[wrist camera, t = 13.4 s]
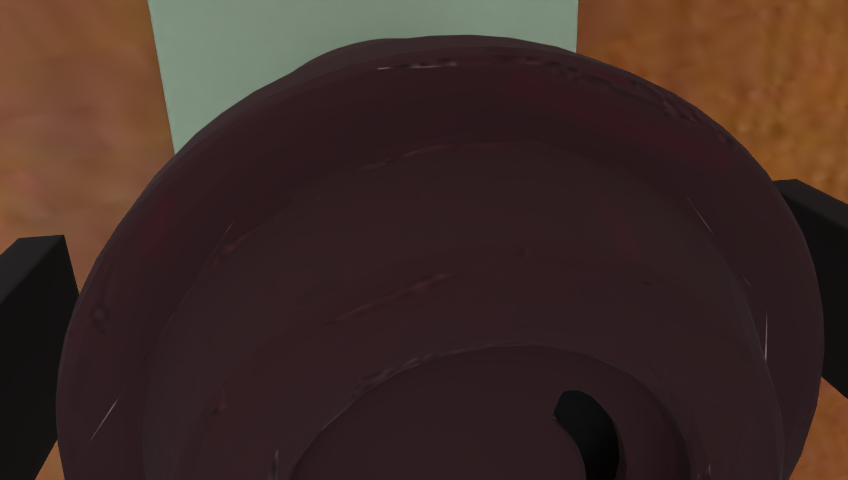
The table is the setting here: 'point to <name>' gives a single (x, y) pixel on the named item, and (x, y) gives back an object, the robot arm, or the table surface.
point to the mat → (312, 40)
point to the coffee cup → (448, 285)
